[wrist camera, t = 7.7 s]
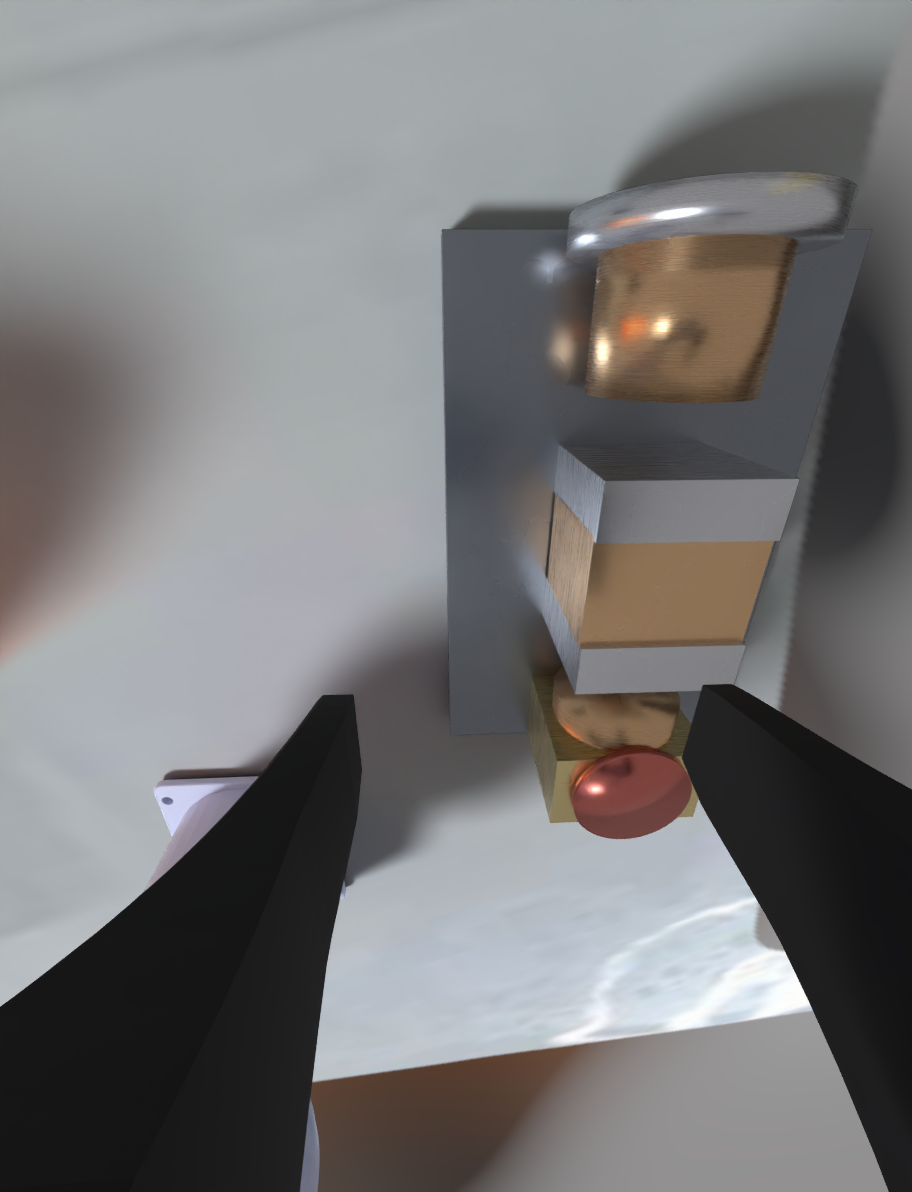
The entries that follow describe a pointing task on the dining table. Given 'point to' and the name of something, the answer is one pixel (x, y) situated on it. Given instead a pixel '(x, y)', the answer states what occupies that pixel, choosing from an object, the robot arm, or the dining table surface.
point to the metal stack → (618, 432)
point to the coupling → (658, 562)
